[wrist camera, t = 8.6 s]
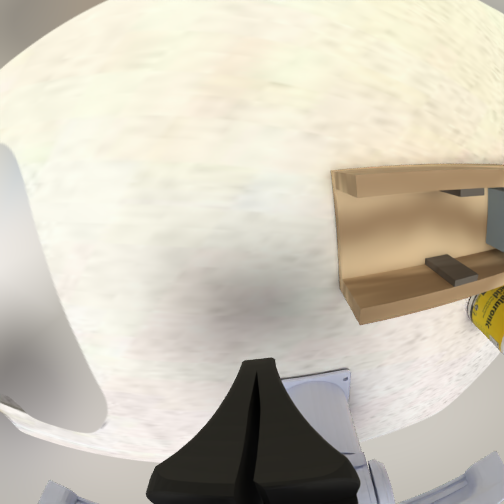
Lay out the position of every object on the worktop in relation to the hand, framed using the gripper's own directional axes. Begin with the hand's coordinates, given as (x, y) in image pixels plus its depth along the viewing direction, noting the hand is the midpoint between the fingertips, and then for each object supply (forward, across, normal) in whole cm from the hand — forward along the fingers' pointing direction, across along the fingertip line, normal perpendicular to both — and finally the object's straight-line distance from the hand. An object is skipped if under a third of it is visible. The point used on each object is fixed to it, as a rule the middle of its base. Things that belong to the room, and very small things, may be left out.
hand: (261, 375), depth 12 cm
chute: (+10, -16, -3) cm, 19 cm away
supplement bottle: (+10, -23, +6) cm, 26 cm away
